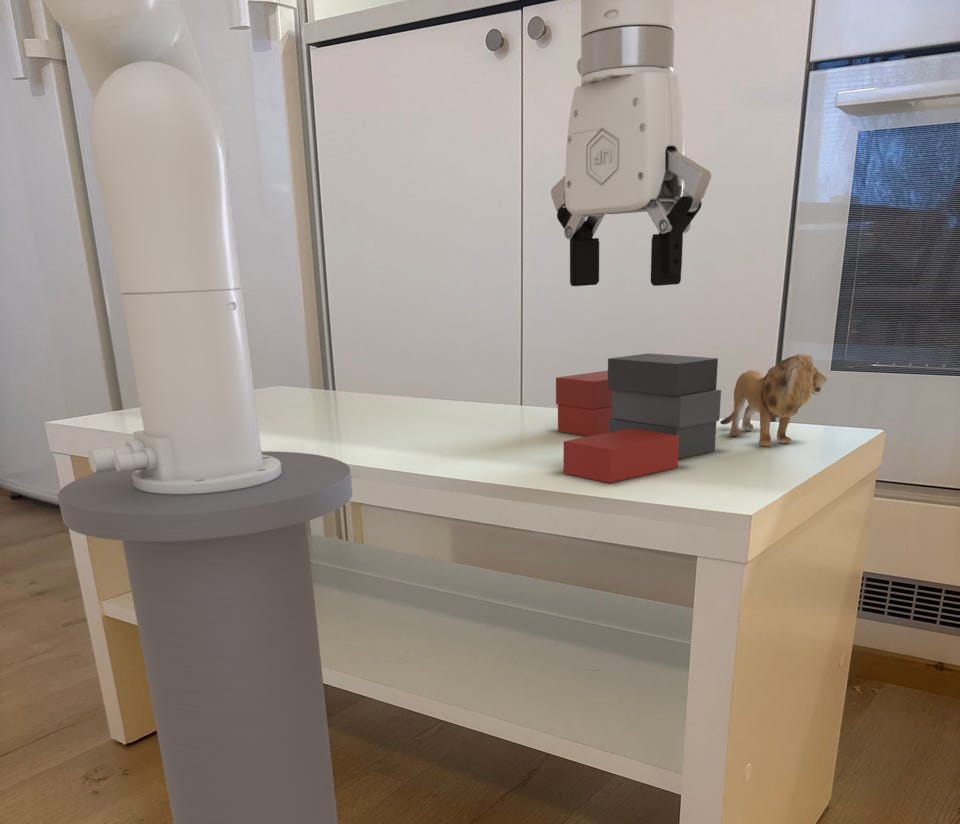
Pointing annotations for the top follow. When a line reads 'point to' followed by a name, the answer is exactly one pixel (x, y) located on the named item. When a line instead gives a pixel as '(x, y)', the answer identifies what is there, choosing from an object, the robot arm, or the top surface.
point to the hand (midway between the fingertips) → (623, 285)
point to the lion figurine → (775, 395)
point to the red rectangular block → (620, 455)
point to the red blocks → (584, 403)
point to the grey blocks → (667, 398)
